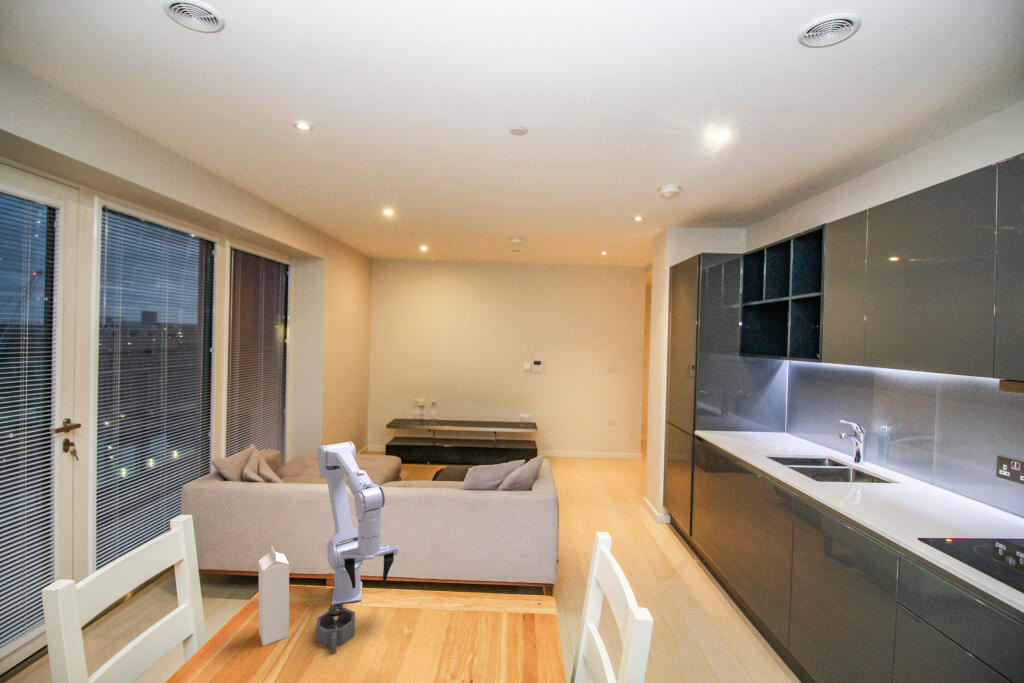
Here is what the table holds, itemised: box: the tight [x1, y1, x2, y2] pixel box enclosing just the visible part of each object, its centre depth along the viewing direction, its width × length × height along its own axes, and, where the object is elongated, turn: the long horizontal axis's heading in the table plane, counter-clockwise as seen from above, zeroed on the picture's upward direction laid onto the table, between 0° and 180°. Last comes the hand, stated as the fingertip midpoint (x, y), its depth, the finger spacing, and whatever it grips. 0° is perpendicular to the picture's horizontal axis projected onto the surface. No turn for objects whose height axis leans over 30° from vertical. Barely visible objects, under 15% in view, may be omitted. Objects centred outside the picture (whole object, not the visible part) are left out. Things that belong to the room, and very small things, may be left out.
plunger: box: [326, 603, 346, 630], centre depth 119 cm, size 6×6×6 cm
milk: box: [258, 545, 290, 647], centre depth 118 cm, size 6×6×22 cm
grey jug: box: [315, 607, 356, 654], centre depth 118 cm, size 12×9×4 cm
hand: (369, 584), depth 124 cm, fingers open, 7 cm apart
